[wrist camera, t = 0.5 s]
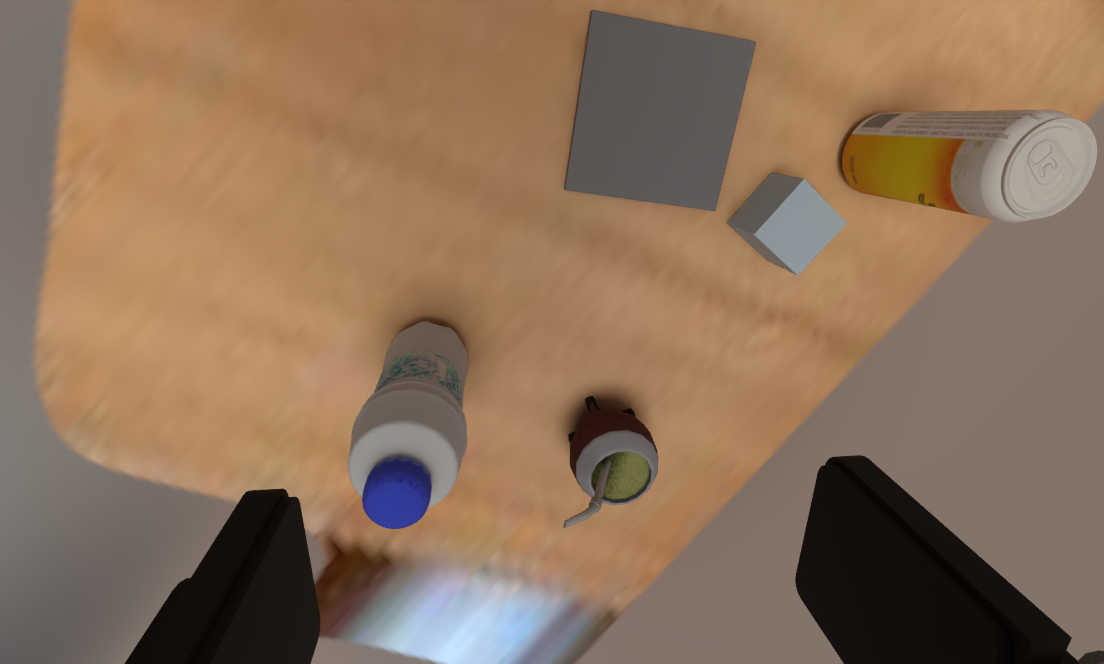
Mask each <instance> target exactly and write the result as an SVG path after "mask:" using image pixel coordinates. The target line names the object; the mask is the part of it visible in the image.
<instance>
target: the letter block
mask: <svg viewBox="0 0 1104 664" xmlns="http://www.w3.org/2000/svg"><path fill="white" fill-rule="evenodd" d="M727 224H728V225H729V226H731V227H732V228H733V229H734V230H735V231H736V232H737V233H738V234H739V235H740V236H741V237H742V238H743V239H745V240H746V241H747V242H748V243H749V244H750V245H751V246H752V247H753V248H754V249H755V250H756V251H757V252H759V253H760V254H761V255H762V256H763V257H764V258H765V259H766V260H767V261H769V262H771V263H773V264H775V265H777V266H779V267H781V268H783V269H785V270H787V271H789V272H791V273H793V274H795V275H797V276H798V275H799V274H800V273H801V272H802V271H803V270H804V269H805V267H806V266H807V265H808V264H809V263H810V262H811V261H812V260H813V259H814V258H815V257H816V256H817V255H818V254H819V253H820V252H821V250H822V249H823V248H824V247H825V246H826V245H827V244H828V243H829V242H830V241H831V240H832V239H833V238H834V237H835V236H836V234H837V233H838V232H839V231H840V230H841V229H842V228H843V227H844V226H845V225H846V224H847V222H846V221H845V220H844V219H843V218H842V217H841V216H840V215H839V214H838V213H837V212H836V211H835V210H834V209H833V208H832V207H831V206H830V205H829V204H828V203H827V202H826V201H825V200H824V199H823V198H822V197H821V196H820V195H819V194H818V193H817V192H816V191H815V190H814V188H813V187H812V186H811V185H810V184H809V183H808V182H807V181H806V180H805V179H802V178H797V177H791V176H786V175H781V174H775V173H770V174H769V175H768V176H767V178H766V179H765V180H764V181H763V182H762V183H761V184H760V185H759V187H758V188H757V189H756V190H755V191H754V192H753V193H752V195H751V196H750V197H749V198H748V199H747V200H746V201H745V202H744V204H743V205H742V206H741V207H740V208H739V209H738V210H737V212H736V213H735V214H734V215H733V216H732V217H731V218H730V219H729V221H728V222H727Z"/></svg>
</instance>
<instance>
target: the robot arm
mask: <svg viewBox="0 0 1104 664" xmlns="http://www.w3.org/2000/svg"><path fill="white" fill-rule="evenodd" d="M795 581H796V587H797V591H798V594H799V596H800V598H801V600H802V601H803V603H804V604H805V606H806V607H807V608H808V610H809V611H810V613H811V614H812V616H813V618H814V619H815V621H816V622H817V624H818V625H819V627H820V628H821V630H822V631H823V633H824V634H825V636H826V637H827V638H828V640H829V642H830V643H831V645H832V646H833V648H834V649H835V651H836V652H837V654H838V655H839V657H840V658H841V660H842V661H843V663H844V664H1104V651H1094V652H1089V653H1085V654H1084V655H1083V656H1082V657H1081V659H1079V660H1078V661H1077V660H1076V659H1075V658H1074V657H1073V656H1072V655H1071V654H1070V653H1068V652H1067V651H1066V649H1067V647H1068V645H1069V643H1070V641H1071V637H1070V636H1069V635H1068V634H1067V633H1066V632H1065V631H1063V630H1062V629H1061V628H1060V627H1059V626H1058V625H1057V624H1055V623H1054V622H1053V621H1052V620H1051V619H1050V618H1049V617H1047V616H1046V615H1045V614H1044V613H1043V612H1042V611H1041V610H1039V609H1038V608H1037V607H1036V606H1035V605H1034V604H1033V603H1032V602H1031V601H1029V600H1028V599H1027V598H1026V597H1025V596H1024V595H1023V594H1021V593H1020V592H1019V591H1018V590H1017V589H1016V588H1015V587H1013V586H1012V585H1011V584H1010V583H1009V582H1008V581H1007V580H1006V579H1004V578H1003V577H1002V576H1001V575H1000V574H999V573H998V572H996V571H995V570H994V569H993V568H992V567H991V566H990V565H989V564H987V563H986V562H985V561H984V560H983V559H982V558H981V557H979V556H978V555H977V554H976V553H975V552H974V551H973V550H972V549H970V548H969V547H968V546H967V545H966V544H965V543H963V542H962V541H961V540H960V539H959V538H958V537H957V536H956V535H954V534H953V533H952V532H951V531H950V530H949V529H948V528H947V527H945V526H944V525H943V524H942V523H941V522H940V521H939V520H937V519H936V518H935V517H934V516H933V515H932V514H931V513H929V512H928V511H927V510H926V509H925V508H924V507H923V506H921V505H920V504H919V503H918V502H917V501H916V500H915V499H914V498H912V497H911V496H910V495H909V494H908V493H907V492H906V491H904V490H903V489H902V488H901V487H900V486H899V485H898V484H897V483H895V482H894V481H893V480H892V479H891V478H890V477H889V476H888V475H886V474H885V473H884V472H883V471H882V470H881V469H880V468H878V467H877V466H876V465H875V464H874V463H873V462H872V461H870V460H869V459H868V458H866V457H865V456H860V455H859V456H858V455H857V456H840V457H832V458H830V459H828V461H827V462H826V465H824V466H821V468H820V469H819V471H818V474H817V479H816V484H815V488H814V493H813V498H812V502H811V507H810V512H809V517H808V521H807V526H806V530H805V535H804V540H803V544H802V549H801V553H800V558H799V563H798V567H797V572H796V579H795ZM319 632H320V613H319V608H318V602H317V597H316V591H315V585H314V580H313V574H312V568H311V563H310V557H309V552H308V546H307V540H306V535H305V529H304V523H303V518H302V512H301V507H300V502H299V499H298V498H297V497H289V496H288V493H287V491H286V490H285V489H269V490H252V491H247V492H246V493H245V494H244V495H243V496H242V498H241V500H240V501H239V503H238V504H237V506H236V507H235V509H234V511H233V512H232V514H231V516H230V517H229V519H228V520H227V522H226V523H225V525H224V526H223V528H222V530H221V531H220V533H219V534H218V536H217V537H216V539H215V541H214V542H213V544H212V545H211V547H210V549H209V550H208V552H207V553H206V555H205V556H204V558H203V560H202V561H201V563H200V564H199V566H198V568H197V569H196V571H195V572H194V574H193V575H192V577H191V578H187V579H185V580H183V581H181V582H180V583H179V584H178V585H177V586H176V587H175V588H174V590H173V591H172V592H171V594H170V595H169V597H168V599H167V600H166V601H165V603H164V604H163V606H162V607H161V609H160V610H159V612H158V614H157V615H156V617H155V618H154V620H153V621H152V623H151V624H150V626H149V627H148V629H147V630H146V632H145V633H144V635H143V636H142V638H141V639H140V641H139V643H138V644H137V646H136V647H135V649H134V650H133V652H132V653H131V655H130V656H129V658H128V659H127V661H126V662H125V664H311V660H312V657H313V654H314V651H315V647H316V644H317V641H318V637H319Z"/></svg>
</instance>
